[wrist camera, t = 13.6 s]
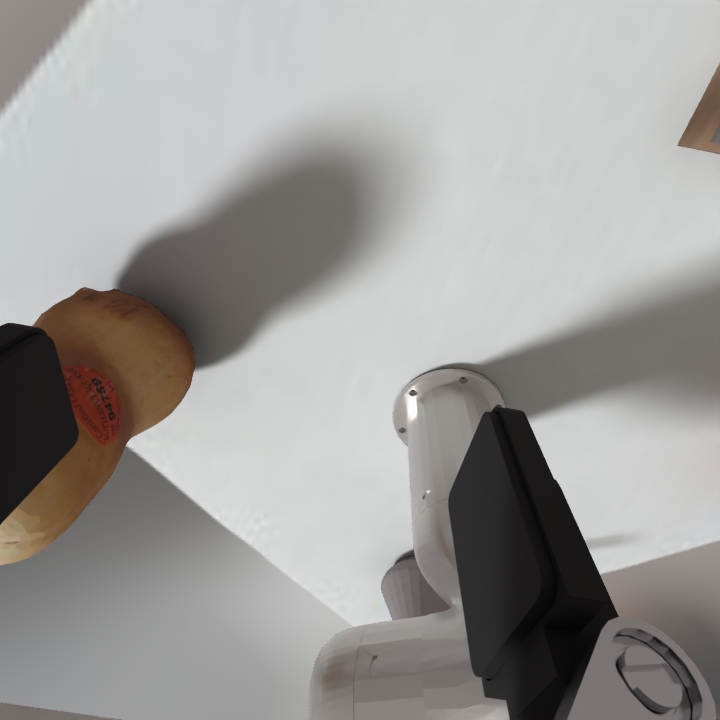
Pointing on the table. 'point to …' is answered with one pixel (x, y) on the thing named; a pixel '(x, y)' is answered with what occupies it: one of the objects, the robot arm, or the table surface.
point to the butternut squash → (100, 403)
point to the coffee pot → (409, 592)
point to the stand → (705, 120)
